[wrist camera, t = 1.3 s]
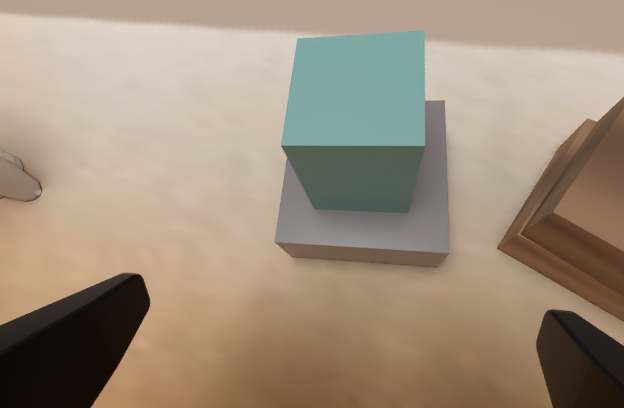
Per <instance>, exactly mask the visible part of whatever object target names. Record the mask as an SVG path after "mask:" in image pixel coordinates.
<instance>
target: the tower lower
mask: <svg viewBox="0 0 624 408" xmlns="http://www.w3.org/2000/svg"><path fill="white" fill-rule="evenodd" d="M596 124H597V122H596V121H593V120H591V119H587V120H586V121H585V122H584V123H583V124H582V125H581V126H580V127H579V128H578V129H577V130H576V131H575V132H574V133H573V134H572V135H571V136H570V137H569V138H568V139H567V140H566V141H565V142H564V143H563V144H562V145H561V146H560V147H559V148H558V150H557V151H556V153H555V155H554V156H553V158H552V160H551V161H550V163H549V165H548V166H547V168H546V169H545V171H544V173H543V174H542V176H541V178H540V179H539V181H538V182H537V184H536V186H535V187H534V189H533V191H532V192H531V194H530V195H529V197H528V199H527V200H526V202H525V204H524V205H523V207H522V209H521V210H520V212H519V213H518V215H517V217H516V218H515V220H514V222H513V223H512V225H511V226H510V228H509V230H508V231H507V233H506V235H505V236H504V238H503V239H502V241H501V243H500V244H499V246H498V248H497V249H499V250H501V251H502V252H504V253H506V254H508V255H509V256H511V257H513V258H515V259H516V260H518V261H520V262H521V263H523V264H525V265H527V266H528V267H530V268H532V269H534V270H535V271H537V272H539V273H541V274H542V275H544V276H546V277H548V278H549V279H551V280H553V281H554V282H556V283H558V284H560V285H561V286H563V287H565V288H567V289H568V290H570V291H572V292H574V293H575V294H577V295H579V296H581V297H582V298H584V299H586V300H587V301H589V302H591V303H593V304H594V305H596V306H598V307H600V308H601V309H603V310H605V311H607V312H608V313H610V314H612V315H614V316H615V317H617V318H619V319H620V320H622V321H624V296H622V295H620V294H619V293H617V292H615V291H614V290H612V289H610V288H609V287H607V286H605V285H604V284H602V283H600V282H599V281H597V280H595V279H594V278H592V277H590V276H589V275H587V274H585V273H584V272H582V271H580V270H579V269H577V268H575V267H574V266H572V265H570V264H569V263H567V262H565V261H564V260H562V259H560V258H559V257H557V256H556V255H554V254H552V253H551V252H549V251H547V250H546V249H544V248H542V247H541V246H539V245H537V244H536V243H534V242H532V241H531V240H529V239H527V238H526V237H524V236H522V235H521V232H522V231H523V229H524V228H525V226H526V225H527V223H528V222H529V221H530V219H531V218H532V216H533V215H534V213H535V212H536V210H537V209H538V208H539V206H540V205H541V203H542V202H543V200H544V199H545V197H546V196H547V194H548V193H549V192H550V190H551V189H552V187H553V186H554V184H555V183H556V181H557V180H558V179H559V177H560V176H561V174H562V173H563V171H564V170H565V168H566V167H567V166H568V164H569V163H570V161H571V160H572V158H573V157H574V155H575V154H576V153H577V151H578V150H579V148H580V147H581V145H582V144H583V142H584V141H585V140H586V138H587V137H588V135H589V134H590V132H591V131H592V129H593V128H594V127H595V125H596Z"/></svg>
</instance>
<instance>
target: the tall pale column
mask: <svg viewBox="0 0 624 408" xmlns="http://www.w3.org/2000/svg"><path fill="white" fill-rule="evenodd" d="M41 190H42V189H41V186H40V183H39V182H38V181H37V180H35V179H34V178H33V177H31V176H30V175H29V174H28V173H26V172H25V171H24V170H23V165H22V163H21V160H19V159H18V158H17V157H15V156H13V155H11V154H8V153H4V152H1V153H0V198H1V197H3V196H5V197H9V198H13V199H17V200H21V201H25V202H27V201H31V200H35V199H36V198H37V197H39V196H40V194H41Z"/></svg>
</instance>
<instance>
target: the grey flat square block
mask: <svg viewBox="0 0 624 408" xmlns="http://www.w3.org/2000/svg"><path fill="white" fill-rule="evenodd" d="M275 243H276V244H278V245H279V246H280V247H281V248H282V249H283V250H285V251H286V252H287V253H288V254H289V255H290V256H292V257H302V258H316V259H330V260H344V261H357V262H371V263H385V264H399V265H413V266H426V267H437V266H438V265H439V264H440V263H441V262H442V261H443V259H444V258H445V257H446V256H447V255H448V254H449V226H448V192H447V158H446V124H445V100H444V101H425V148H424V152H423V156H422V160H421V164H420V168H419V171H418V175H417V179H416V183H415V187H414V191H413V195H412V198H411V202H410V206H409V210H408V213H394V212H370V211H346V210H323V209H314V208H313V206H312V204H311V202H310V200H309V198H308V196H307V194H306V192H305V190H304V188H303V187H302V185H301V183H300V181H299V179H298V177H297V175H296V173H295V171H294V169H293V167H292V165H291V164H290V162H289V160H288V158H287V161H286V168H285V175H284V182H283V189H282V196H281V203H280V209H279V216H278V223H277V230H276V237H275Z"/></svg>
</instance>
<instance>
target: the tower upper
mask: <svg viewBox="0 0 624 408" xmlns="http://www.w3.org/2000/svg"><path fill="white" fill-rule="evenodd" d="M521 235H522V236H524V237H526V238H527V239H529V240H531V241H532V242H534V243H536V244H537V245H539V246H541V247H542V248H544V249H546V250H547V251H549V252H551V253H552V254H554V255H556V256H557V257H559V258H560V259H562V260H564V261H565V262H567V263H569V264H570V265H572V266H574V267H575V268H577V269H579V270H580V271H582V272H584V273H585V274H587V275H589V276H590V277H592V278H594V279H595V280H597V281H599V282H600V283H602V284H604V285H605V286H607V287H609V288H610V289H612V290H614V291H615V292H617V293H619V294H620V295H622V296H624V97H623V98H622V99H621V100H620V101H619V102H618V103H617V104H616V105H615V106H614V107H613V108H611V109H610V110H609V111H608V112H607V113H606V114H605V115H604V116H603V117H602V118H601V119H600V120H599V121H598V122H597V124H596V125H595V127H594V128H593V129H592V131H591V132H590V134H589V135H588V137H587V138H586V140H585V141H584V142H583V144H582V145H581V147H580V148H579V150H578V151H577V153H576V154H575V155H574V157H573V158H572V160H571V161H570V163H569V164H568V166H567V167H566V168H565V170H564V171H563V173H562V174H561V176H560V177H559V179H558V180H557V181H556V183H555V184H554V186H553V187H552V189H551V190H550V192H549V193H548V194H547V196H546V197H545V199H544V200H543V202H542V203H541V205H540V206H539V208H538V209H537V210H536V212H535V213H534V215H533V216H532V218H531V219H530V221H529V222H528V223H527V225H526V226H525V228H524V229H523V231H522V232H521Z"/></svg>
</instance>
